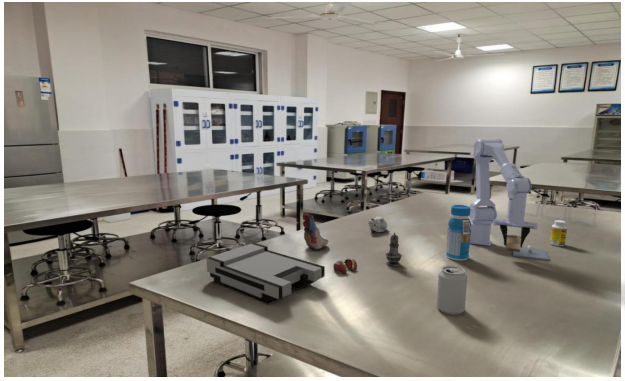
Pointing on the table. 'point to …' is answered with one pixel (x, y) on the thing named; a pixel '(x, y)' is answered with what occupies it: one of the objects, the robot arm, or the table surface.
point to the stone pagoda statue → (393, 252)
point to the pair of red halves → (345, 265)
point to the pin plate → (531, 253)
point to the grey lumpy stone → (377, 224)
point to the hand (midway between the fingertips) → (512, 245)
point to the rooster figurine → (312, 233)
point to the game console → (262, 272)
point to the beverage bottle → (459, 233)
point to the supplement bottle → (558, 233)
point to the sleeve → (513, 243)
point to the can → (452, 290)
